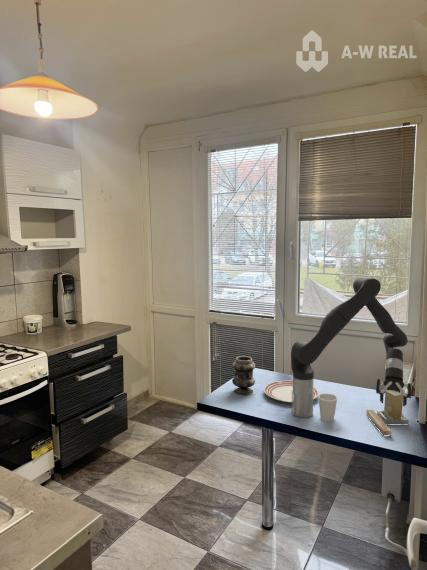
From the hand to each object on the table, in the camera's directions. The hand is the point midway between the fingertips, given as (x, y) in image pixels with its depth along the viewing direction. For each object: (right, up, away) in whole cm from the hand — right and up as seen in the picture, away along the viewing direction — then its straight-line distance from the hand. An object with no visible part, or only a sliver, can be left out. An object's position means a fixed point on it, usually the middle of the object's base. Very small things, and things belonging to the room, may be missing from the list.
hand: (393, 404), depth 170 cm
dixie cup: (-27, -8, +4) cm, 29 cm away
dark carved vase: (-62, -5, +37) cm, 72 cm away
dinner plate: (-38, -5, +31) cm, 49 cm away
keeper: (+1, -8, +2) cm, 8 cm away
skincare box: (+1, -7, +2) cm, 8 cm away
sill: (-8, -8, -3) cm, 12 cm away
